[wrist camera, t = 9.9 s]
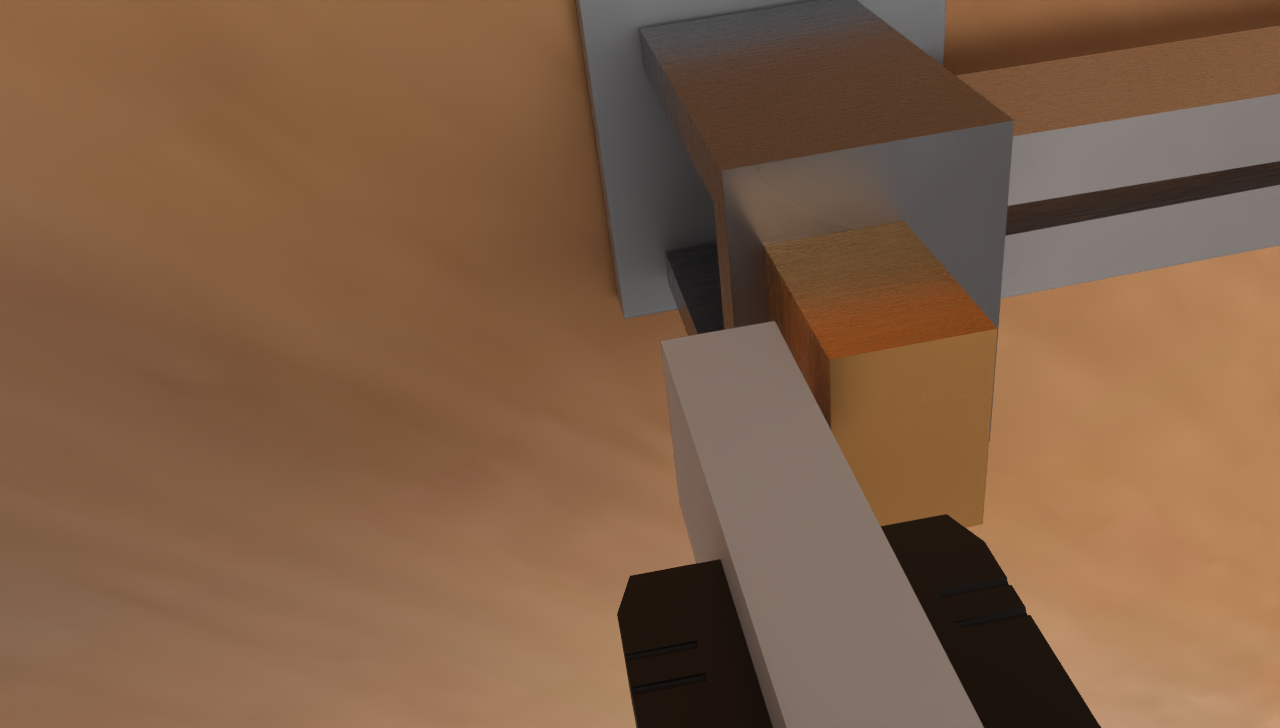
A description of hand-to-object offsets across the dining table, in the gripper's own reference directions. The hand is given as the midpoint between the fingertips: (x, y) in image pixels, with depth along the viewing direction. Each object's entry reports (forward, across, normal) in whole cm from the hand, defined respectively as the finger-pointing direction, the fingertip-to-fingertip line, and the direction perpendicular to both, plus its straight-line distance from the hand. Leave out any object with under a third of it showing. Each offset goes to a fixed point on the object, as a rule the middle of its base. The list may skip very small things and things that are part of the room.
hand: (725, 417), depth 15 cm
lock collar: (+8, +2, 0) cm, 9 cm away
